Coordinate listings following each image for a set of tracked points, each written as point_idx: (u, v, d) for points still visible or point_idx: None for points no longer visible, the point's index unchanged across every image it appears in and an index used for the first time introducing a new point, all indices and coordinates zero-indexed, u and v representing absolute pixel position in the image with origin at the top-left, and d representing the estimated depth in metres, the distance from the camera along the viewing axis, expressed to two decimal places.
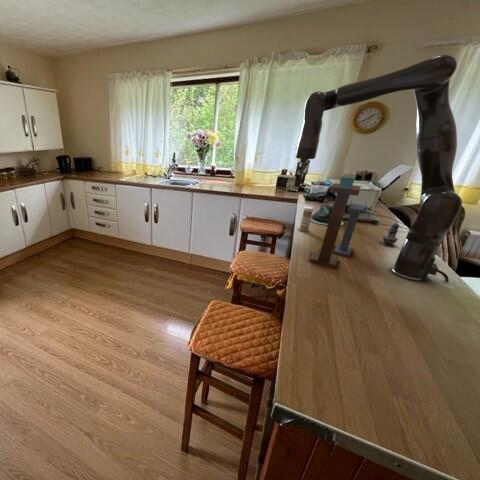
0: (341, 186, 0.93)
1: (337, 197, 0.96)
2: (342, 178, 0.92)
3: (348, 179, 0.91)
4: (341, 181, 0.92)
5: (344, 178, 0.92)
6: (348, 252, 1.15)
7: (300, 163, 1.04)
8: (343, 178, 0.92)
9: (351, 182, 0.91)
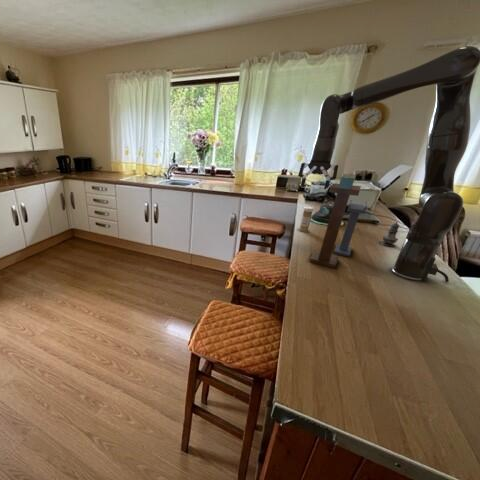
0: (341, 186, 0.93)
1: (337, 197, 0.96)
2: (342, 178, 0.92)
3: (348, 179, 0.91)
4: (341, 181, 0.92)
5: (344, 178, 0.92)
6: (348, 252, 1.15)
7: (302, 163, 1.13)
8: (343, 178, 0.92)
9: (351, 182, 0.91)
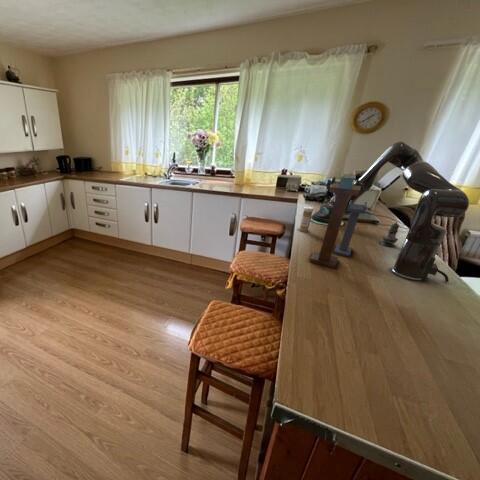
0: (341, 186, 0.93)
1: (337, 197, 0.96)
2: (342, 178, 0.92)
3: (348, 179, 0.91)
4: (341, 181, 0.92)
5: (344, 178, 0.92)
6: (348, 252, 1.15)
7: None
8: (343, 178, 0.92)
9: (351, 182, 0.91)
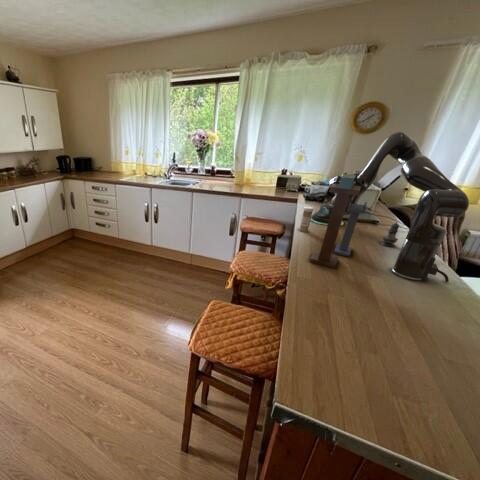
0: (341, 186, 0.93)
1: (337, 197, 0.96)
2: (342, 178, 0.92)
3: (348, 179, 0.91)
4: (341, 181, 0.92)
5: (344, 178, 0.92)
6: (348, 252, 1.15)
7: (330, 182, 1.11)
8: (343, 178, 0.92)
9: (351, 182, 0.91)
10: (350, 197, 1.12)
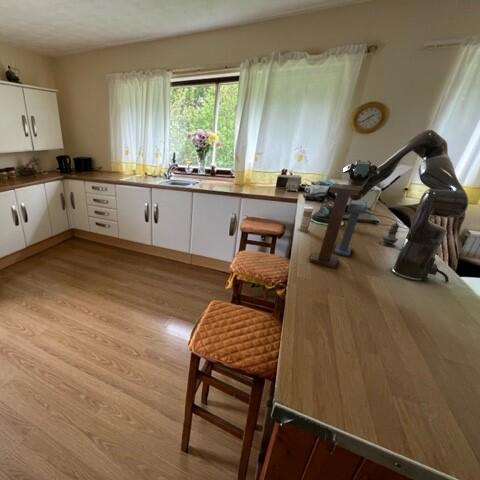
0: (357, 172, 1.00)
1: (337, 197, 0.96)
2: (358, 164, 0.99)
3: (364, 165, 0.98)
4: (357, 167, 0.99)
5: (360, 164, 0.98)
6: (348, 252, 1.15)
7: (343, 170, 1.18)
8: (359, 164, 0.99)
9: (366, 168, 0.98)
10: (362, 184, 1.19)
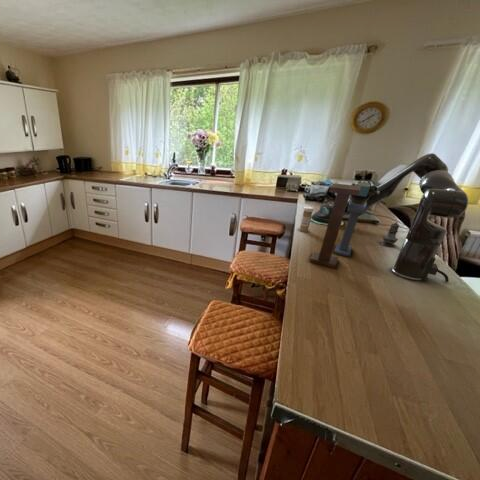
0: None
1: (337, 197, 0.96)
2: None
3: (364, 187, 1.03)
4: None
5: None
6: (348, 252, 1.15)
7: None
8: None
9: (367, 190, 1.02)
10: (363, 202, 1.24)
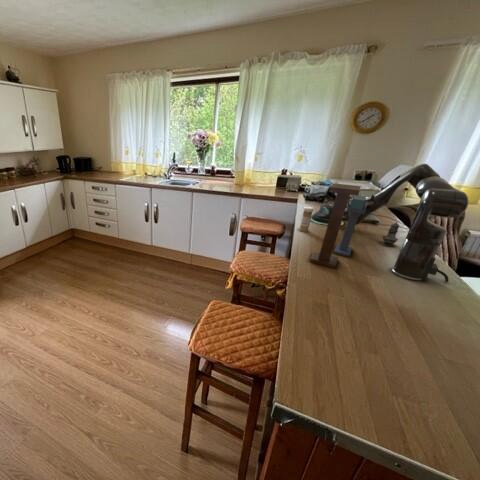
0: (353, 207, 1.07)
1: (337, 197, 0.96)
2: (354, 200, 1.06)
3: (359, 201, 1.05)
4: (353, 202, 1.06)
5: (356, 200, 1.05)
6: (348, 252, 1.15)
7: None
8: (355, 200, 1.06)
9: (362, 204, 1.04)
10: None
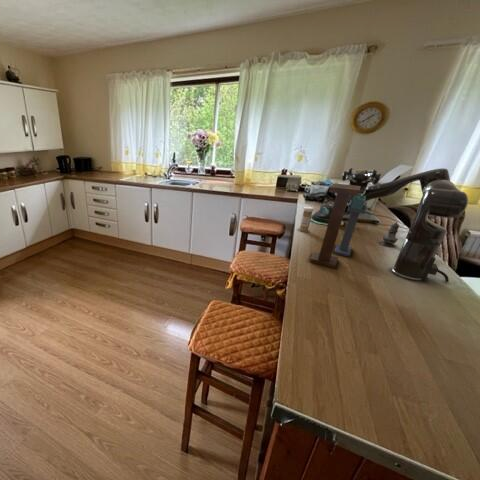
0: (353, 207, 1.07)
1: (337, 197, 0.96)
2: (354, 200, 1.06)
3: (359, 201, 1.05)
4: (353, 202, 1.06)
5: (356, 200, 1.05)
6: (348, 252, 1.15)
7: None
8: (355, 200, 1.06)
9: (362, 204, 1.04)
10: (362, 189, 1.28)
